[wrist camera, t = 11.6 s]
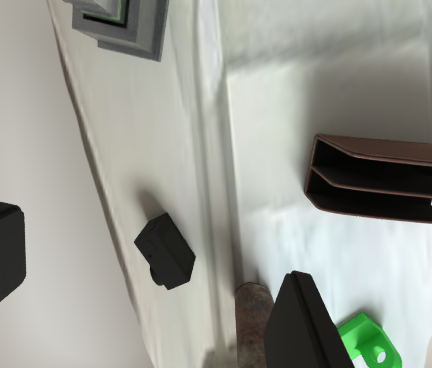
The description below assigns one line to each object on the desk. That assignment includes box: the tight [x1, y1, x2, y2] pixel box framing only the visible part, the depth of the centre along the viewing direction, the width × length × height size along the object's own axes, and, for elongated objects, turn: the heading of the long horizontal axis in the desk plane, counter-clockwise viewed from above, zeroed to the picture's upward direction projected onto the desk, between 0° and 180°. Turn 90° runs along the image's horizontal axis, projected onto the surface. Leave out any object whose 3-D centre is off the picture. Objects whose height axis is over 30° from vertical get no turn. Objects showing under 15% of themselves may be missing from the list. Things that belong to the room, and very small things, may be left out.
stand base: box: [72, 0, 169, 62], centre depth 31 cm, size 9×9×8 cm
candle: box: [235, 283, 274, 368], centre depth 39 cm, size 8×7×20 cm
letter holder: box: [304, 134, 432, 224], centre depth 33 cm, size 10×20×14 cm, turn 86°
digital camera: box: [134, 213, 196, 290], centre depth 42 cm, size 10×5×7 cm, turn 29°
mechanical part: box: [337, 312, 402, 368], centre depth 46 cm, size 12×6×8 cm, turn 139°
